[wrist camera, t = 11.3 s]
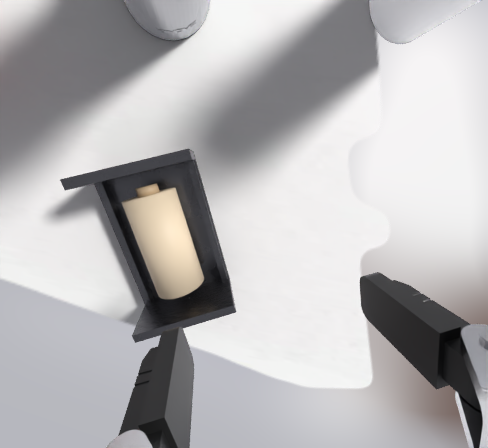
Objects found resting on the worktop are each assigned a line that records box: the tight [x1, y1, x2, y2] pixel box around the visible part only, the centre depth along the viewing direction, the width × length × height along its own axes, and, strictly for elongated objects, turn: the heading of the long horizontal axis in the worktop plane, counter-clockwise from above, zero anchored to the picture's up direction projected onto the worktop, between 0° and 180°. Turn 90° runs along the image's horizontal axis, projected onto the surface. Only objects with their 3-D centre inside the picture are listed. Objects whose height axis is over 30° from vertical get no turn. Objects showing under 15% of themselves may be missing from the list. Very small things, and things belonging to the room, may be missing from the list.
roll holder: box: [60, 149, 236, 342], centre depth 28 cm, size 19×12×8 cm, turn 13°
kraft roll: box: [121, 183, 204, 299], centre depth 28 cm, size 14×6×6 cm, turn 13°
